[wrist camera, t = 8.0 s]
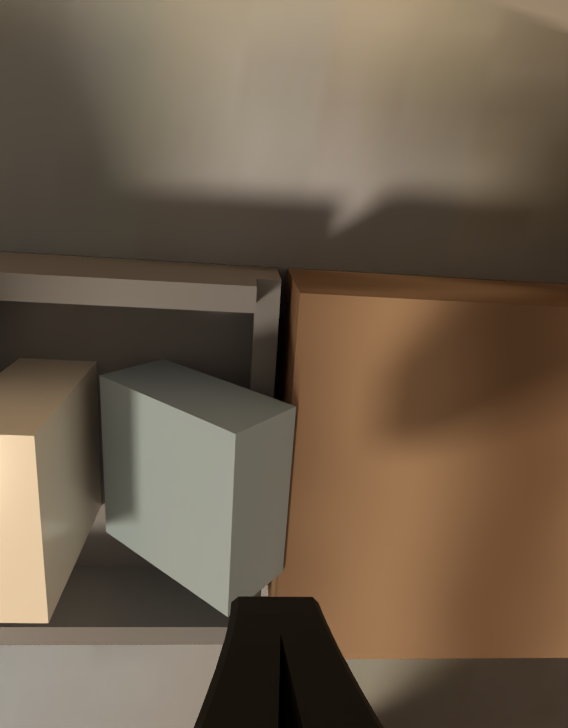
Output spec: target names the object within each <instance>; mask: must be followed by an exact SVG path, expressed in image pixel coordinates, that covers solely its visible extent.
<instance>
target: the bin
mask: <svg viewBox="0 0 568 728" xmlns="http://www.w3.org/2000/svg"><path fill="white" fill-rule="evenodd" d="M280 294H281V278H280V275H279V272H278V270H277V268H275V267H257V266H240V265H222V264H205V263H187V262H170V261H152V260H135V259H118V258H100V257H83V256H65V255H48V254H30V253H13V252H0V372H2V371H3V370H4V369H6V368H7V367H8V366H10V365H11V364H12V363H13V362H15V361H16V360H17V359H19V358H34V359H53V360H73V361H92V362H96V365H97V394H98V423H99V452H100V481H101V507H100V510H99V512H98V514H97V516H96V518H95V521H94V523H93V525H92V527H91V530H90V532H89V534H88V536H87V539H86V541H85V543H84V545H83V547H82V550H81V552H80V554H79V556H78V559H77V561H76V563H75V565H74V567H73V570H72V572H71V574H70V576H69V579H68V581H67V583H66V585H65V588H64V590H63V592H62V594H61V596H60V599H59V601H58V603H57V605H56V608H55V610H54V612H53V614H52V617H51V619H50V621H49V623H0V645H174V644H223V643H224V640H225V636H226V632H227V627H228V622H229V617H230V616H228V617H227V616H226V615H224V614H223V613H221V612H220V611H218V610H217V609H216V608H214V607H213V606H211V605H210V604H208V603H207V602H206V601H204V600H203V599H201V598H200V597H198V596H197V595H196V594H194V593H193V592H191V591H190V590H188V589H187V588H186V587H184V586H183V585H181V584H180V583H178V582H177V581H176V580H174V579H173V578H171V577H170V576H168V575H167V574H166V573H164V572H163V571H161V570H160V569H158V568H157V567H156V566H154V565H153V564H151V563H150V562H148V561H147V560H146V559H144V558H143V557H141V556H140V555H138V554H137V553H136V552H134V551H133V550H131V549H130V548H128V547H127V546H126V545H124V544H123V543H121V542H120V541H118V540H117V539H116V538H114V537H113V536H111V535H110V534H108V533H107V532H106V516H105V493H104V470H103V447H102V424H101V401H100V378H99V375H103V374H107V373H110V372H114V371H118V370H122V369H126V368H130V367H134V366H137V365H141V364H145V363H149V362H153V361H157V360H161V359H166V360H169V361H171V362H174V363H177V364H180V365H182V366H185V367H188V368H191V369H194V370H196V371H199V372H202V373H205V374H207V375H210V376H213V377H216V378H219V379H221V380H224V381H227V382H230V383H232V384H235V385H238V386H241V387H244V388H246V389H249V390H252V391H255V392H257V393H260V394H263V395H266V396H269V397H271V398H274V386H275V371H276V355H277V340H278V325H279V309H280ZM254 596H258V597H261V590H260V591H259V592H257V593H256V594H255V595H254Z"/></svg>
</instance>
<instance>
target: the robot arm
mask: <svg viewBox="0 0 568 728" xmlns="http://www.w3.org/2000/svg"><path fill="white" fill-rule="evenodd" d="M194 728H383V726H382V725H381V723H380V721H379V719H378V718H377V716H376V714H375V713H374V711H373V709H372V707H371V706H370V704H369V702H368V700H367V699H366V697H365V695H364V694H363V692H362V690H361V688H360V687H359V685H358V683H357V681H356V679H355V678H354V676H353V674H352V672H351V670H350V668H349V666H348V664H347V662H346V661H345V659H344V657H343V655H342V653H341V651H340V649H339V647H338V645H337V643H336V641H335V639H334V637H333V635H332V632H331V630H330V628H329V626H328V624H327V622H326V619H325V617H324V615H323V612H322V610H321V608H320V605H319V603H318V602H317V601H316V600H315V599H314V598H313V597H258V596H238V597H237V598H236V599H235V600H233V601H232V602H231V610H230V617H229V622H228V627H227V632H226V636H225V640H224V643H223V647H222V650H221V653H220V657H219V660H218V663H217V666H216V669H215V672H214V675H213V678H212V681H211V683H210V686H209V689H208V691H207V694H206V697H205V700H204V702H203V705H202V708H201V710H200V713H199V716H198V718H197V721H196V723H195V726H194Z"/></svg>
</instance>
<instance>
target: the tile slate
mask: <svg viewBox="0 0 568 728" xmlns="http://www.w3.org/2000/svg"><path fill="white" fill-rule="evenodd" d="M99 378H100V401H101V424H102V447H103V470H104V493H105V516H106V532H107V533H108V534H110V535H111V536H113V537H114V538H116V539H117V540H118V541H120V542H121V543H123V544H124V545H126V546H127V547H128V548H130V549H131V550H133V551H134V552H136V553H137V554H138V555H140V556H141V557H143V558H144V559H146V560H147V561H148V562H150V563H151V564H153V565H154V566H156V567H157V568H158V569H160V570H161V571H163V572H164V573H166V574H167V575H168V576H170V577H171V578H173V579H174V580H176V581H177V582H178V583H180V584H181V585H183V586H184V587H186V588H187V589H188V590H190V591H191V592H193V593H194V594H196V595H197V596H198V597H200V598H201V599H203V600H204V601H206V602H207V603H208V604H210V605H211V606H213V607H214V608H216V609H217V610H218V611H220V612H221V613H223V614H224V615H226V616H227V617H228V616H230V610H231V602H232V601H233V600H235V599H236V598H237V597H238V596H254V595H255V594H256V593H257V592H259V591H260V590H261V589H262V588H264V587H265V586H266V585H267V584H268V583H270V582H271V581H272V580H273V579H274V578H276V577H277V576H278V575H279V574H280V573H282V572H283V563H284V550H285V538H286V526H287V513H288V501H289V489H290V476H291V464H292V452H293V439H294V427H295V415H296V406H294V405H291V404H288V403H285V402H282V401H280V400H277V399H274V398H271V397H269V396H266V395H263V394H260V393H257V392H255V391H252V390H249V389H246V388H244V387H241V386H238V385H235V384H232V383H230V382H227V381H224V380H221V379H219V378H216V377H213V376H210V375H207V374H205V373H202V372H199V371H196V370H194V369H191V368H188V367H185V366H182V365H180V364H177V363H174V362H171V361H169V360H166V359H161V360H157V361H153V362H149V363H145V364H141V365H137V366H134V367H130V368H126V369H122V370H118V371H114V372H110V373H107V374H103V375H99Z"/></svg>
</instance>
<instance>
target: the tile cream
mask: <svg viewBox="0 0 568 728" xmlns="http://www.w3.org/2000/svg"><path fill="white" fill-rule="evenodd" d="M100 507H101V481H100V452H99V423H98V394H97V365H96V362H92V361H73V360H53V359H34V358H19V359H17V360H16V361H15V362H13V363H12V364H11V365H10V366H8V367H7V368H6V369H4V370H3V371H2V372H0V623H49V621H50V619H51V617H52V614H53V612H54V610H55V608H56V605H57V603H58V601H59V599H60V596H61V594H62V592H63V590H64V588H65V585H66V583H67V581H68V579H69V576H70V574H71V572H72V570H73V567H74V565H75V563H76V561H77V559H78V556H79V554H80V552H81V550H82V547H83V545H84V543H85V541H86V539H87V536H88V534H89V532H90V530H91V527H92V525H93V523H94V521H95V518H96V516H97V514H98V512H99V510H100Z"/></svg>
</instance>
